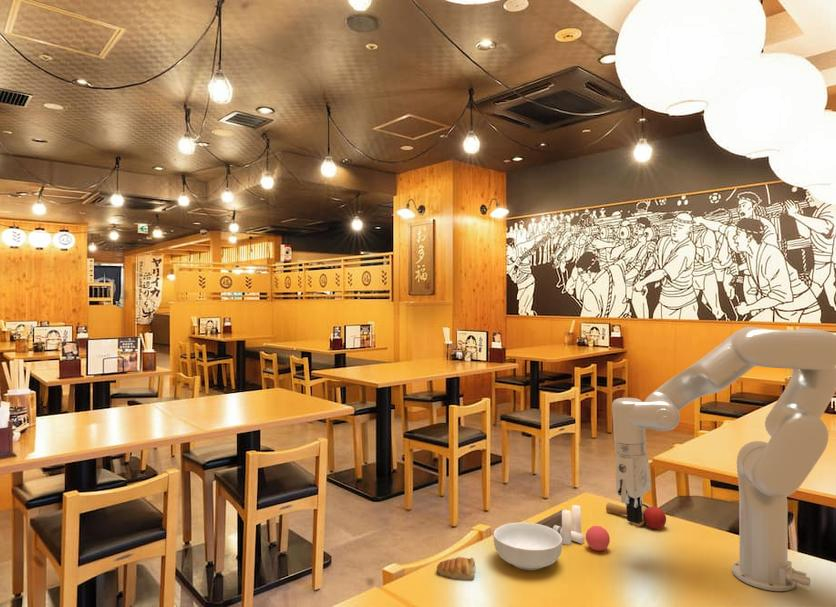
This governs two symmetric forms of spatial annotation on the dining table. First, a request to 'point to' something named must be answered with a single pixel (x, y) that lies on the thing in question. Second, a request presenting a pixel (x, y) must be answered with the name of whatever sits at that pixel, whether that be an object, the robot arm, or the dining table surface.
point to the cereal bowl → (527, 545)
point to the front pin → (574, 535)
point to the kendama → (649, 514)
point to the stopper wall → (552, 520)
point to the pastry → (458, 568)
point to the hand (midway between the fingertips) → (634, 521)
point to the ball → (597, 538)
